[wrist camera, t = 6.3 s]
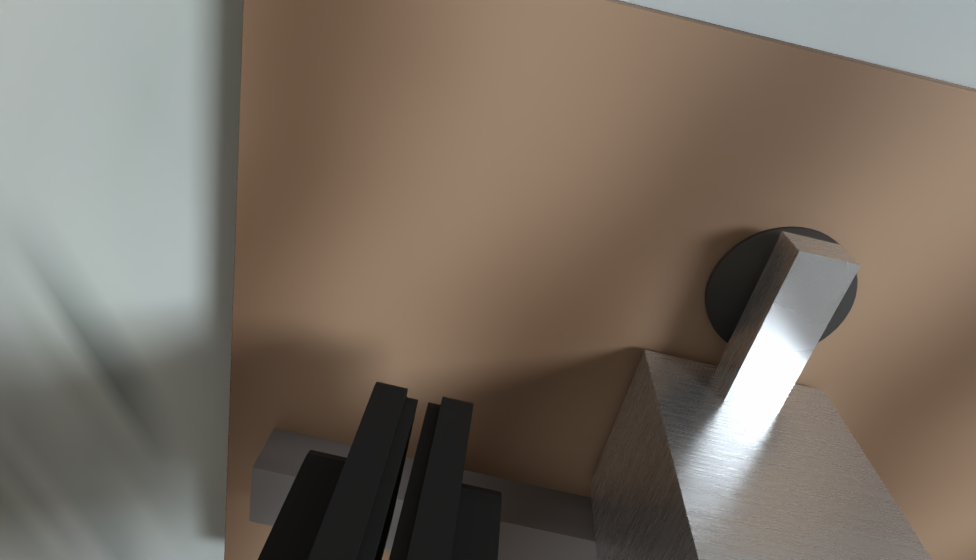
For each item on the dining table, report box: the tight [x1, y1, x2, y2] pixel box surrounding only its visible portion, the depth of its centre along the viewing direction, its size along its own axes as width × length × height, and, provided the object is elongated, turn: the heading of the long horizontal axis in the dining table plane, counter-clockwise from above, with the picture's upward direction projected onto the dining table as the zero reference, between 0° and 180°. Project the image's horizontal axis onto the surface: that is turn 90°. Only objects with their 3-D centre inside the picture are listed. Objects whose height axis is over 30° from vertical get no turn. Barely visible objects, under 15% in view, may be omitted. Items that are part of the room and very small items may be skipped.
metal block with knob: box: [590, 231, 932, 560], centre depth 9 cm, size 4×7×7 cm, turn 168°
